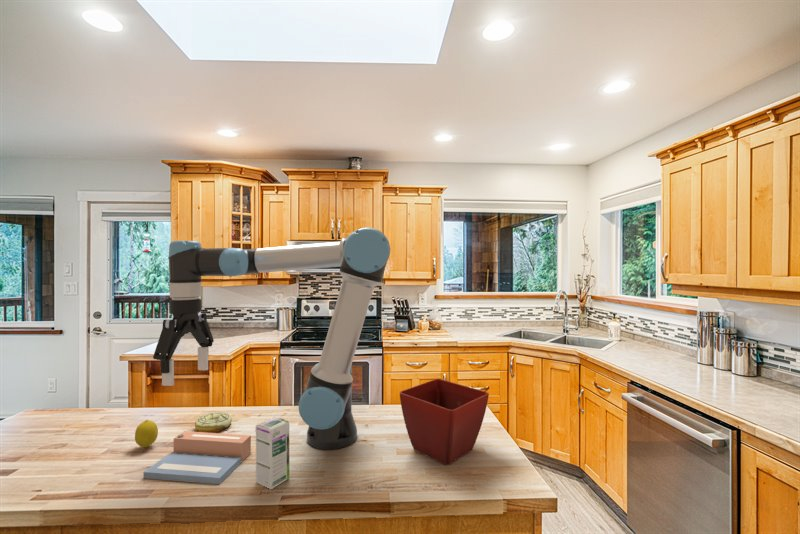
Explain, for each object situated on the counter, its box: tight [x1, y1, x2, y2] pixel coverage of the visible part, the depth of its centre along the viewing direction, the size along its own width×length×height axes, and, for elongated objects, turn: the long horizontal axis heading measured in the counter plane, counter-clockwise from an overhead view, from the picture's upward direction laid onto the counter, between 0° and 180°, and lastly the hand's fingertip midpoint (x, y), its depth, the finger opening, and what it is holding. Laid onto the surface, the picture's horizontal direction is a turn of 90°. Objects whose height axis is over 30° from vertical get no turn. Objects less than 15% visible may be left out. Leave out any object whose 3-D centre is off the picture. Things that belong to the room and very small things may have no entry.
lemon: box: [134, 419, 159, 449], centre depth 108 cm, size 6×6×8 cm
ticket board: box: [143, 451, 242, 485], centre depth 97 cm, size 20×10×2 cm, turn 84°
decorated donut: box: [194, 411, 233, 433], centre depth 122 cm, size 10×11×4 cm
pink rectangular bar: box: [172, 430, 252, 462], centre depth 105 cm, size 20×4×5 cm, turn 84°
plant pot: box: [399, 378, 490, 466], centre depth 109 cm, size 19×19×17 cm
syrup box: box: [255, 416, 290, 490], centre depth 93 cm, size 6×6×14 cm
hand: (186, 377), depth 102 cm, fingers open, 13 cm apart
